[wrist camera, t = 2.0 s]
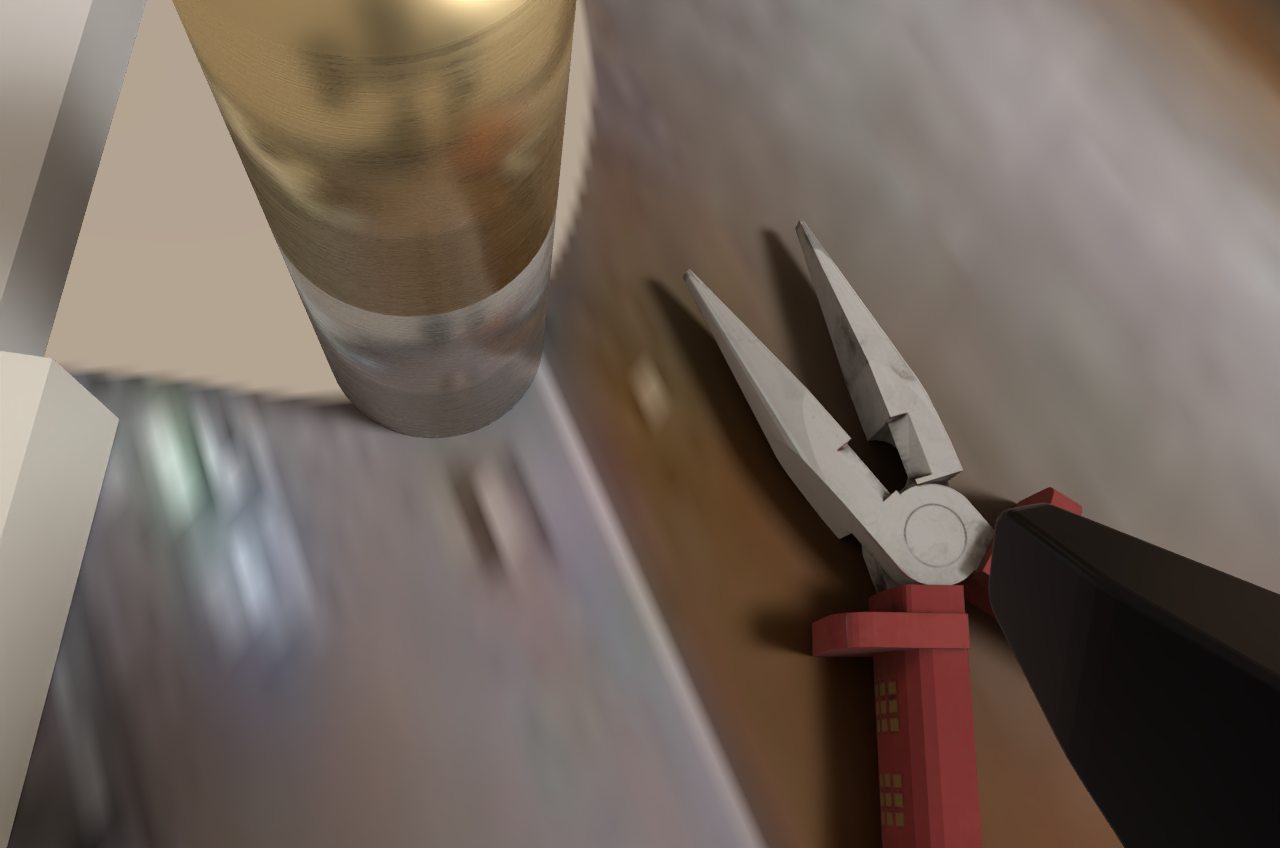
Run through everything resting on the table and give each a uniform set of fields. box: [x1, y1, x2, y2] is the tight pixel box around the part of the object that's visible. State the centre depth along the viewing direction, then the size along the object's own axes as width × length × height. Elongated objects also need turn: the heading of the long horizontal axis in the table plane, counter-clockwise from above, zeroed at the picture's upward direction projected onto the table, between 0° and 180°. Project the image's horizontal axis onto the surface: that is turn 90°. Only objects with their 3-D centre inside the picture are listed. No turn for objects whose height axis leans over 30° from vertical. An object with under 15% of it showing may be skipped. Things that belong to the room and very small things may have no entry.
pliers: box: [683, 220, 1082, 848], centre depth 22 cm, size 12×20×3 cm, turn 29°
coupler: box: [173, 0, 576, 438], centre depth 17 cm, size 4×4×13 cm
